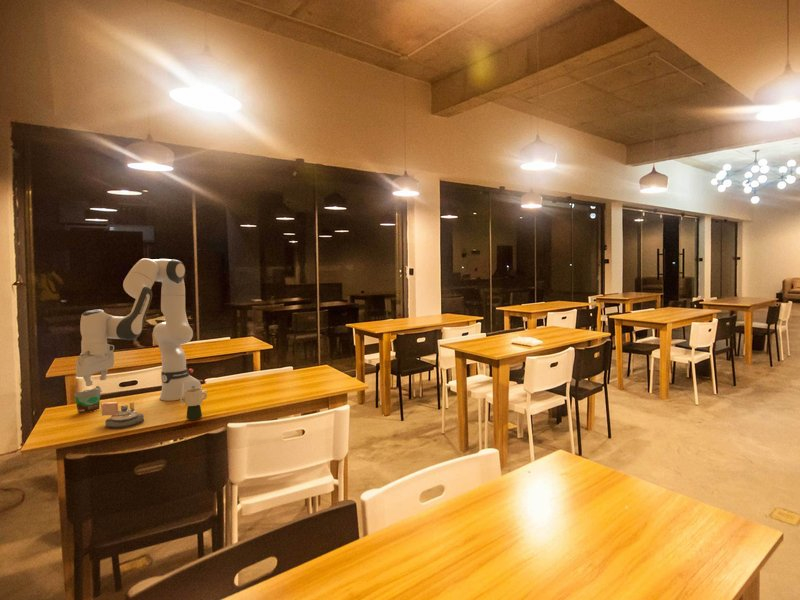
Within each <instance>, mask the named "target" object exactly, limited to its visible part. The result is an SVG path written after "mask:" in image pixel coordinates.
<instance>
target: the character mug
mask: <svg viewBox="0 0 800 600" xmlns="http://www.w3.org/2000/svg"><path fill="white" fill-rule="evenodd" d="M201 388H202V387H201ZM201 388H191V389H187V390H185V395H183V396H180V400H179V403H180V404H184V405H185V406H187V410H186V419H187V420H192V421H194V420H199V419H201V418H202V417H203V413H202V407H201V405H202V403H203V400H206V399H207V398H208V396H207V395H208V394H207V393H208V392H207V391H206V392H202V389H201ZM203 396H204V397H203ZM182 398H185V399H184V400H182Z"/></svg>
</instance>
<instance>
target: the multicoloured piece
mask: <svg viewBox="0 0 800 600" xmlns="http://www.w3.org/2000/svg"><path fill="white" fill-rule="evenodd" d="M118 403H119V402H117V401H115V402H114V401H113V402H112V401H111V402H101V404H100V405H101V416H111V417H110V418H111V420H112V421H115V422H120V421H127V420H131V419H134V418H136V417H138V413H139V412H138V411H137V410H134V411H131V409H130V408H128V410H126V411H121V409H120V410H119V406H118Z"/></svg>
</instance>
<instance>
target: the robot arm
mask: <svg viewBox="0 0 800 600" xmlns="http://www.w3.org/2000/svg"><path fill="white" fill-rule="evenodd" d="M185 275H186V266H185V265H184V263H183V262H182V261H180V260H179V259H169V258H159V259H157V258H156V259H151V258H141V259H139V260H137V262H136V263H135V264H134V265H133V266H132V268H131V269H130V270H129V271H128V273H127V275H126V276H125V278H124V280H123V284H122V287H123V290H124V291H125V293H126V294H128V295H129V296H130V297H132V298H133V299H135V300H134V303H133V306H132V308H131V311H130V313H128V314H126V316H125V315H124V316H121V315H120V316H119V315H118V316H117V315H112V314H108V313H107V312H105V311H104V310H103V309H91V310H86V311H84V312H82V314H81V318H80V325H79V326H80V335H81V341H80V343H81V344H80V347H81V349H80V350H81V353H80V354H79V355H78V358H77V359H76V362H75V375H76V377H77V378H83V380H84V382H85V386H86V387H91V386H93V385H94V384H93V381H94V380H92V379H91V378H92V375H94V374H97V373H100V372H101V373H100V375H99V380H100V381H106V380H107V374H108V371H109V369H110V368H113V367H114V364H115V352H114V350H115V345H113V344H109V343H108V339H112V340H113V339H114V340H123V341H124V340H125V341H133V340H136V339H137V338H138V337H140V335H141V334H142V331H143V329H144V327H143V326H144V322H145V319H146V317H147V314H148V311H149V308H150V306H151V303H152V299H153V291H152V287H153V285H154V284H155V282H159V283H161V291H160V293H161V294H160V310H161V313H162V314H163V317H164V321H163V322H159V323H157V324H156V325H155V326H154V327H153V330H152V334H153V337H154V338H155V339H156V341H157V345H158V348H159V352H160V355H161V371H160V372H161V374H160V375H161V376H160V377H161V382H162V384H161V392H160V397H159V400H161V401H170V402H172V401H180V400H179V399H180V396H183V395H185V390H187V389H191V388H201V389H202V384H201V382H200V380H199V379H197V378H195V377H193V376H192V375H190V374H193V372H194V369H193V368H189V369H188V368H187V358H186V357H187V356H186V353H185V351H184V349H183V347H182V345H185V344H187V343H189V342H190V341H192V338H193V337H194V331H193V328H192V327H191V326H190V324H189V321H188V318H187V311H186V286H185V285H186V284H185V280H184V277H185ZM204 391H206V392H207V389H205V390H202V392H204ZM182 399H183V400H185V398H182Z"/></svg>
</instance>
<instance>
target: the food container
mask: <svg viewBox="0 0 800 600" xmlns="http://www.w3.org/2000/svg"><path fill="white" fill-rule="evenodd" d="M101 393H102V388H101V387H100V386H99V385H96V386H95V388H92V389H86V390H84V391H79V392H77V391H76V392H74V394H73V398H75V403H76V410H77V413H78V412H79V413H78V414H81V413H80V412H83V413H82V414H85V413H84V412H87V413H91V412H90V411H92V412H95V411H94V410H96V411H98V410H99V409H100V405H101V404H100V402H101V401H100V400H101ZM97 409H98V410H97Z"/></svg>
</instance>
